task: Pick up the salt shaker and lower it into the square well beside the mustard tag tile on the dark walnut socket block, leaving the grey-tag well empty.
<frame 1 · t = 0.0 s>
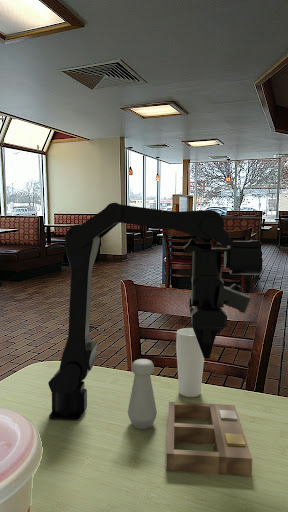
hand: (204, 350, 76), 15 cm above the table, fingers open, 9 cm apart
socket block: (193, 441, 70), on the table
salt shaker: (142, 425, 76), on the table
drinking glass: (189, 394, 90), on the table
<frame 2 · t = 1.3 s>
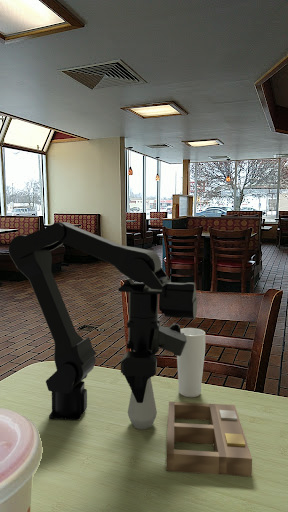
hand: (142, 391, 75), 7 cm above the table, fingers open, 9 cm apart
nothing on the table moved.
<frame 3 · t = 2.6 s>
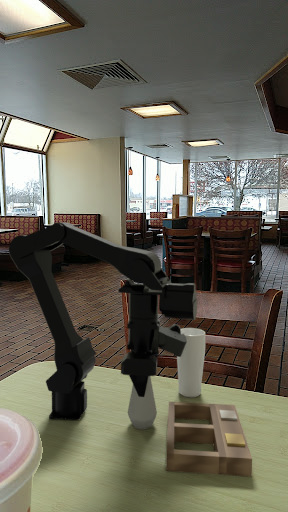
hand: (142, 392, 75), 7 cm above the table, fingers closed on salt shaker, 3 cm apart
salt shaker: (142, 424, 76), on the table, touching gripper
everything else where it was.
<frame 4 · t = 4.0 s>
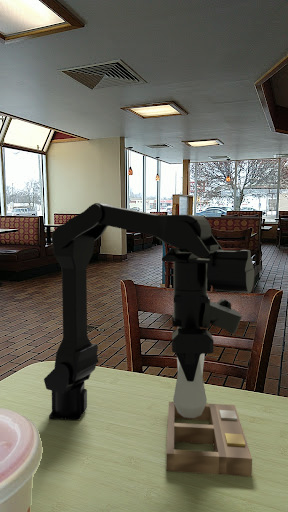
hand: (189, 376, 66), 13 cm above the table, fingers closed on salt shaker, 3 cm apart
salt shaker: (189, 413, 66), point 7 cm above the table, touching gripper
everything else where it was.
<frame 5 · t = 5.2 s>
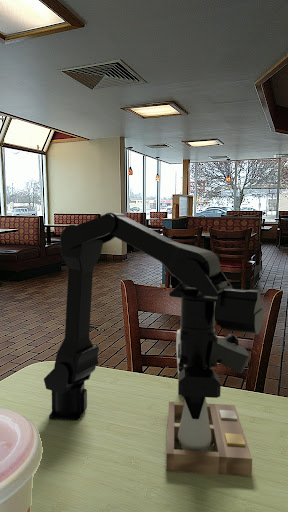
hand: (194, 413, 65), 8 cm above the table, fingers closed on salt shaker, 3 cm apart
salt shaker: (194, 449, 66), point 1 cm above the table, touching gripper
everything else where it was.
when the fingers open (7 cm above the table, at t = 5.9 s): salt shaker stays where it is, resting in socket block.
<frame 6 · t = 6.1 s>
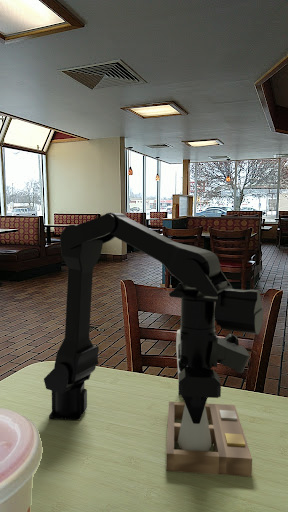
hand: (195, 413, 65), 7 cm above the table, fingers open, 6 cm apart
salt shaker: (194, 455, 66), resting in socket block
everything else where it was.
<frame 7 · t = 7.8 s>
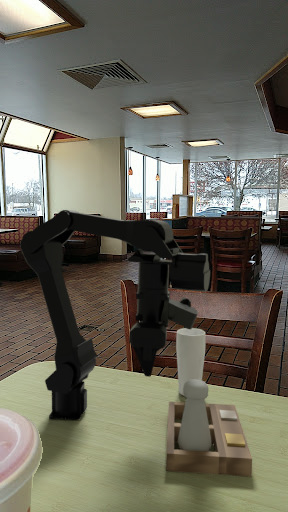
hand: (150, 366, 73), 13 cm above the table, fingers open, 9 cm apart
nothing on the table moved.
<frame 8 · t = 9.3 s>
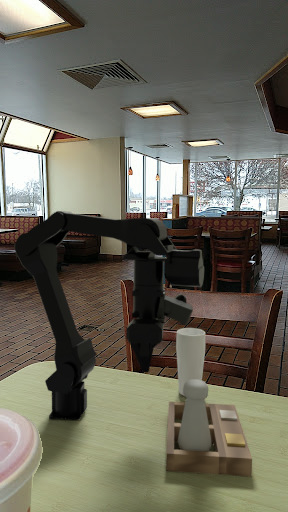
hand: (147, 363, 73), 13 cm above the table, fingers open, 9 cm apart
nothing on the table moved.
at the end: salt shaker 0.1 cm from the target spot on the socket block, point 0.0 cm above the socket block's base; salt shaker tilted 0°; the gripper is holding nothing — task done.
